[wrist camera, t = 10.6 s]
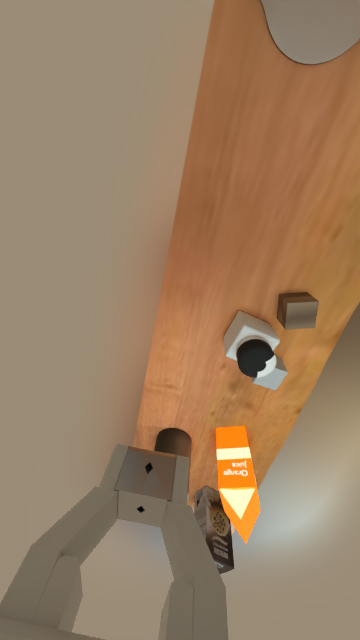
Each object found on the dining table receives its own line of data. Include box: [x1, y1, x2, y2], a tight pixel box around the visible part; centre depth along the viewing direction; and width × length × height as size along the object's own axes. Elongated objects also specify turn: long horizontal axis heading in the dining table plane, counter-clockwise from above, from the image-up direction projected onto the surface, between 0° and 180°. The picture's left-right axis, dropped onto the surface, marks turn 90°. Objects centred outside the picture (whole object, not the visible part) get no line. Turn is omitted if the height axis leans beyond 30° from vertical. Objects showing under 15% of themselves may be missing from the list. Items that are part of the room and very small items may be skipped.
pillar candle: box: [155, 428, 191, 500], centre depth 57 cm, size 10×10×15 cm
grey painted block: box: [251, 357, 288, 391], centre depth 48 cm, size 5×5×5 cm
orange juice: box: [216, 426, 260, 543], centre depth 52 cm, size 8×9×20 cm
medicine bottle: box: [223, 311, 280, 378], centre depth 42 cm, size 7×7×12 cm
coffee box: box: [194, 486, 234, 574], centre depth 65 cm, size 9×6×16 cm
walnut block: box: [277, 292, 319, 329], centre depth 42 cm, size 5×5×5 cm
